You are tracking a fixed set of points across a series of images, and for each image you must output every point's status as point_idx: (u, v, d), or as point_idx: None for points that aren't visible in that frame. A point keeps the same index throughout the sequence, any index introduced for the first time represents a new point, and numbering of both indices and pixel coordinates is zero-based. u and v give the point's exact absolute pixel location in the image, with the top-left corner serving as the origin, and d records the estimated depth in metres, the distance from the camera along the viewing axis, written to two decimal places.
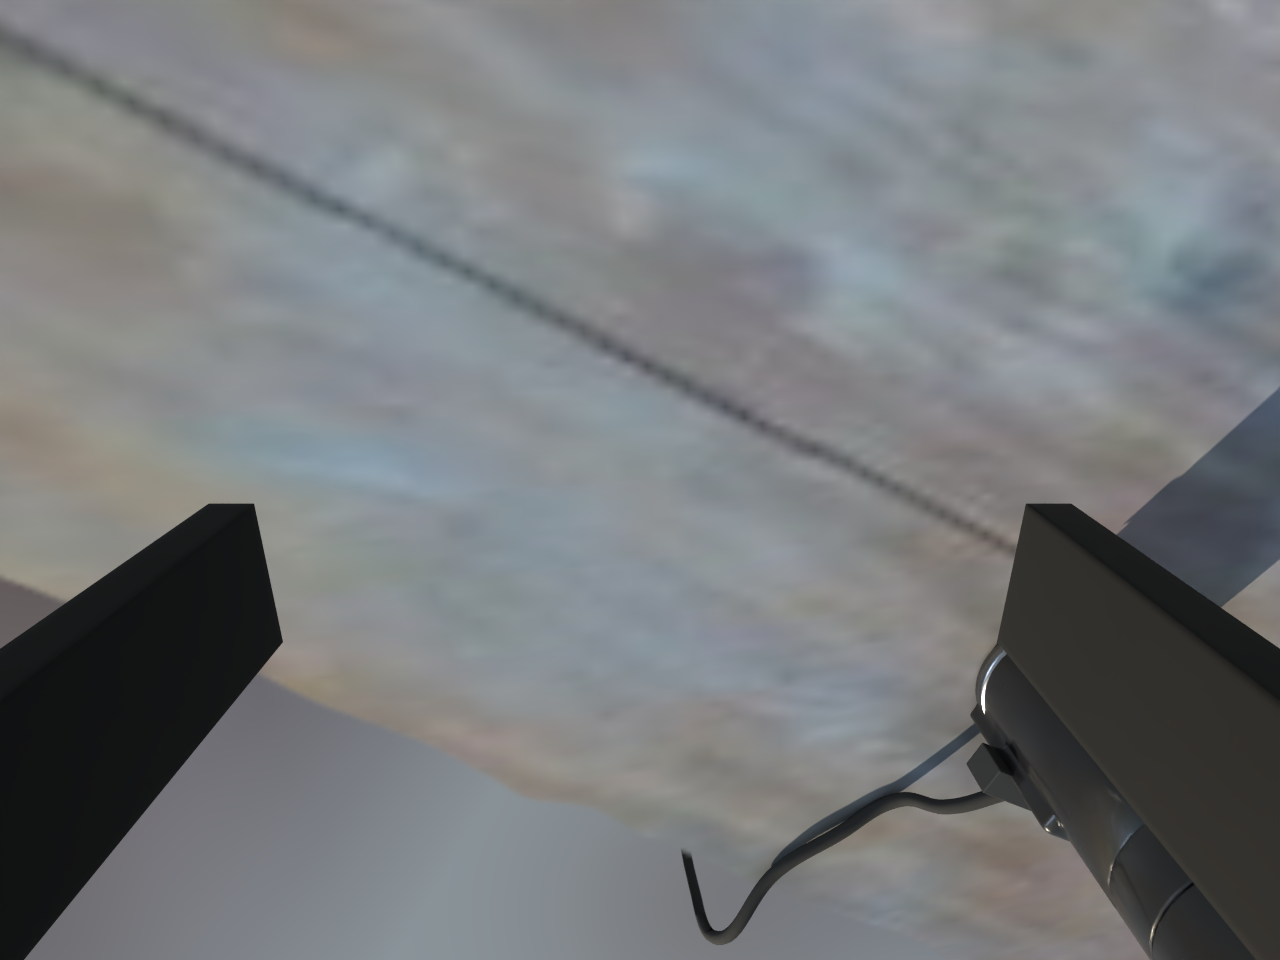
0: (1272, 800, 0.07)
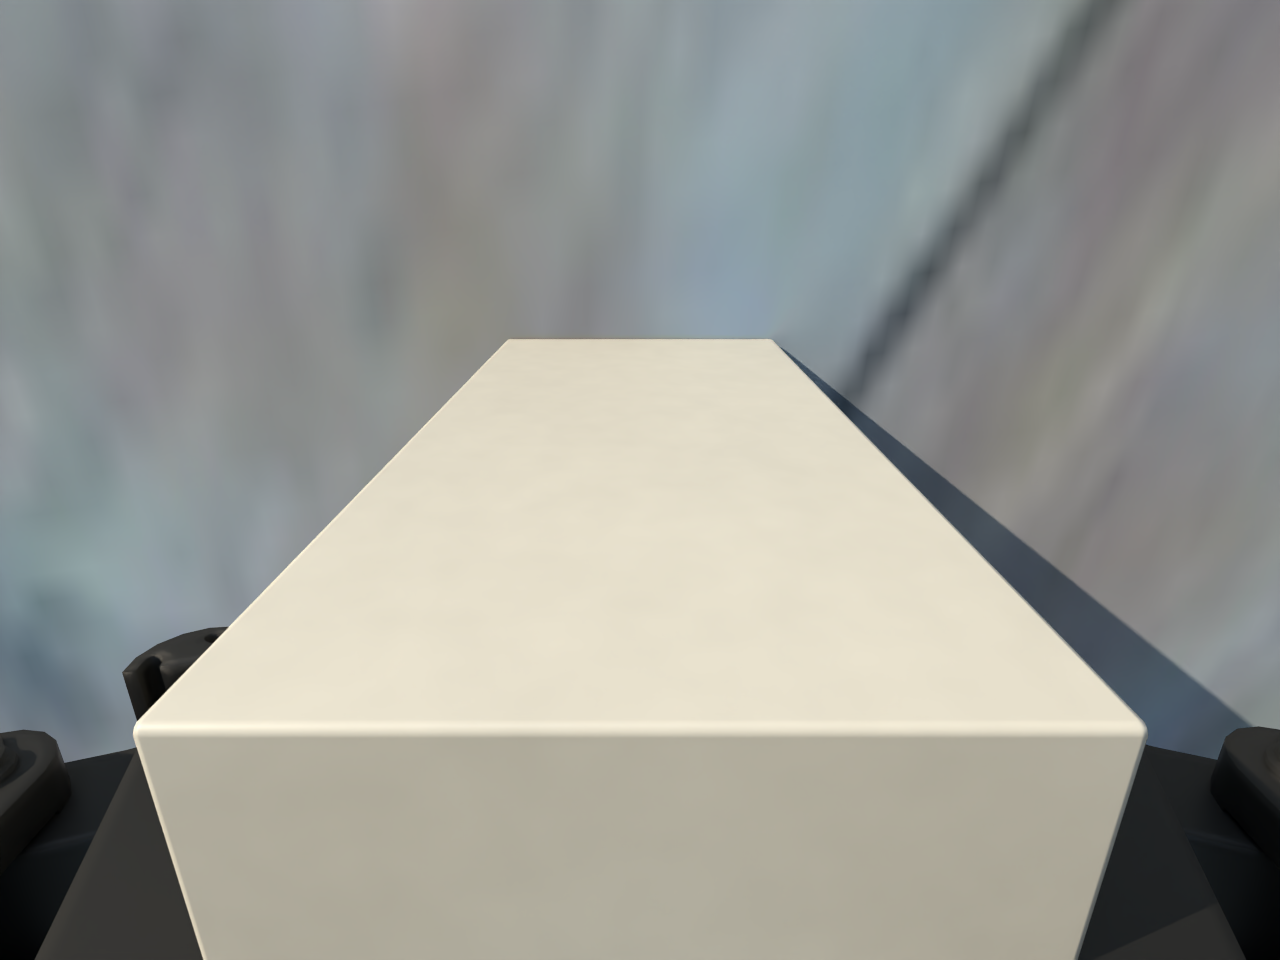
0: None
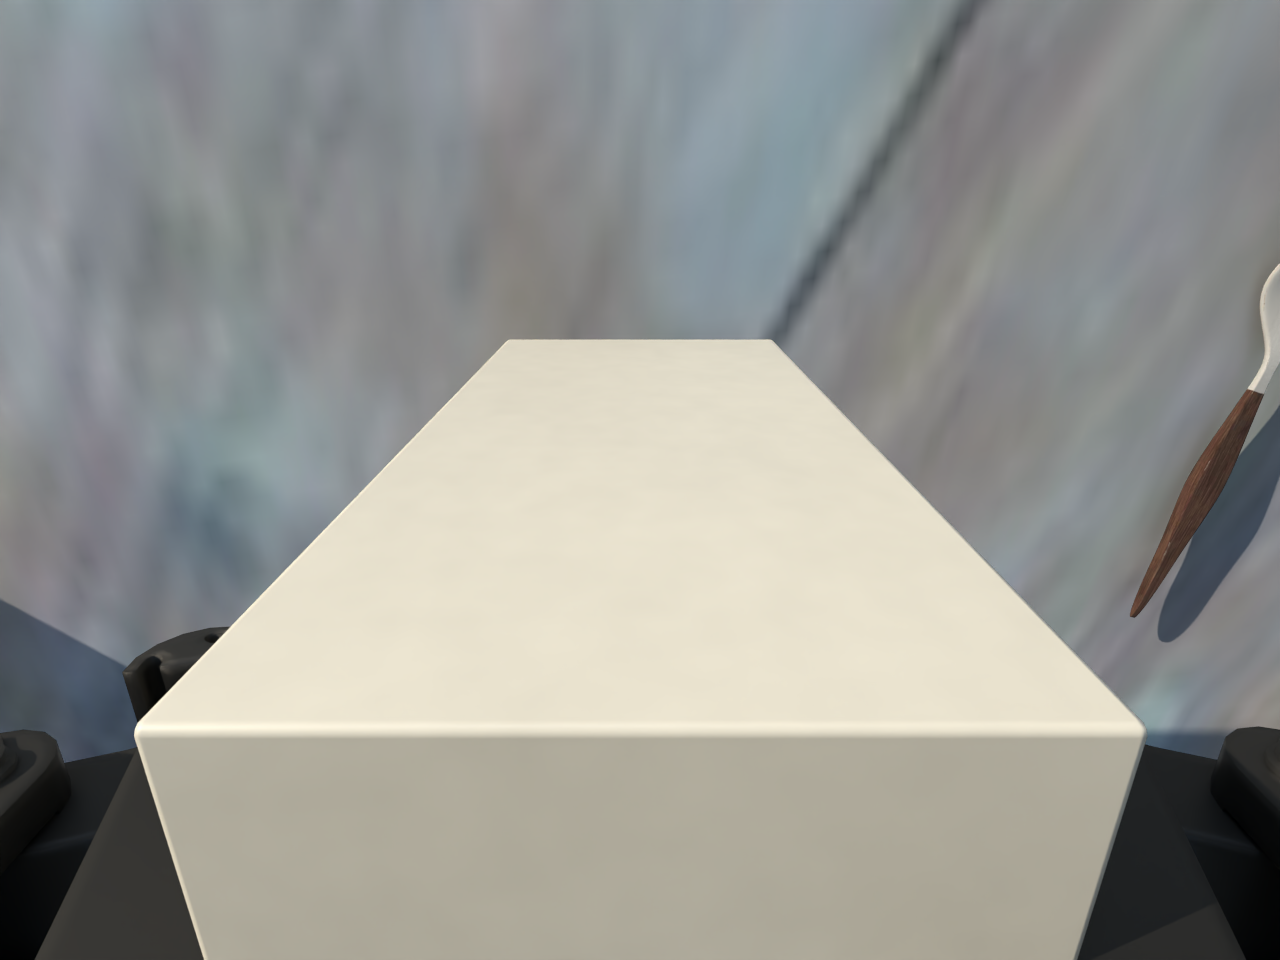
0: None
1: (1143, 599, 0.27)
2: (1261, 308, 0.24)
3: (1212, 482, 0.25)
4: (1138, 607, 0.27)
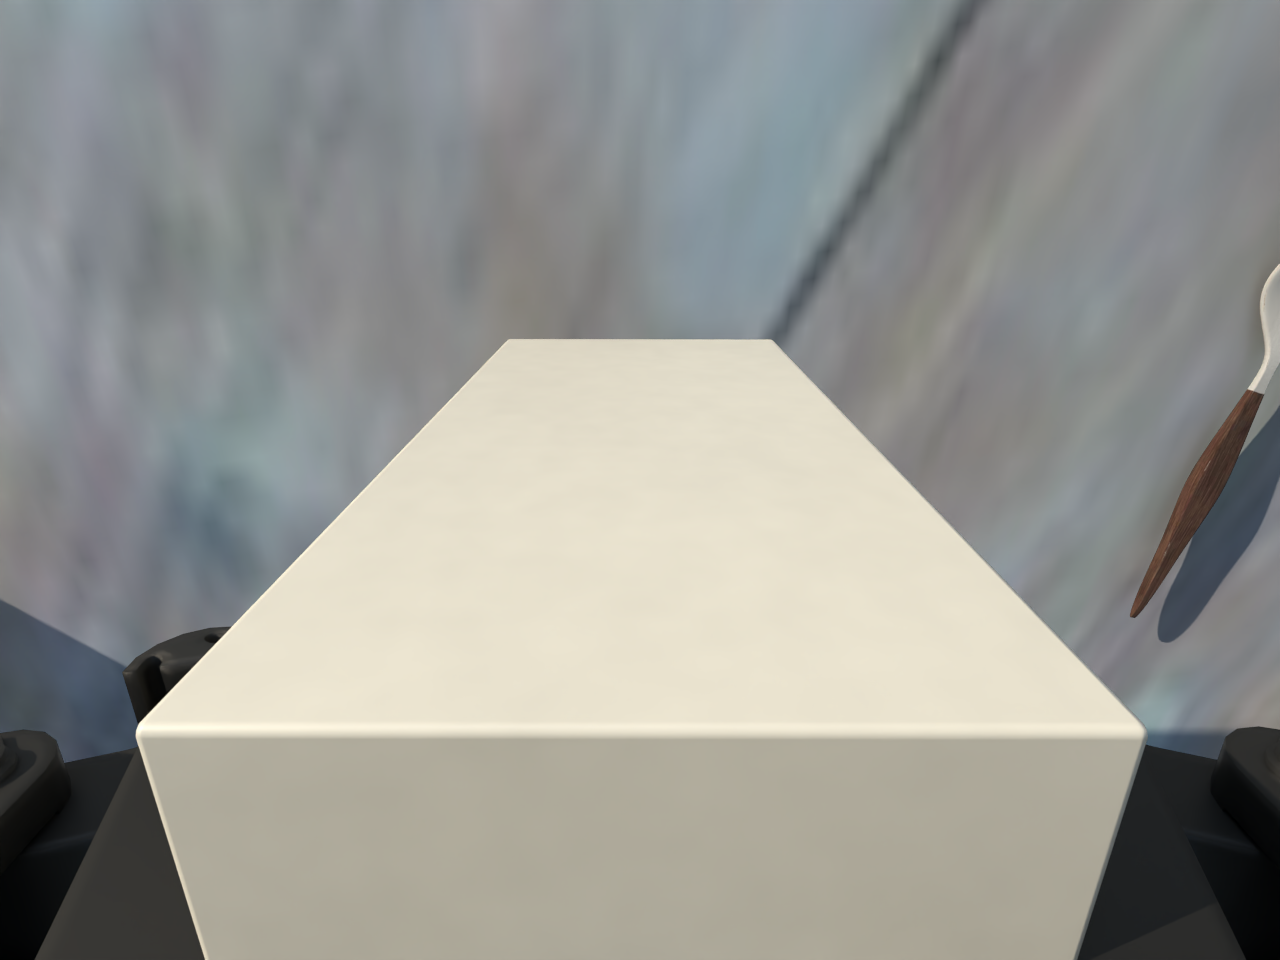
0: None
1: (1143, 599, 0.27)
2: (1261, 308, 0.24)
3: (1213, 483, 0.25)
4: (1138, 607, 0.27)
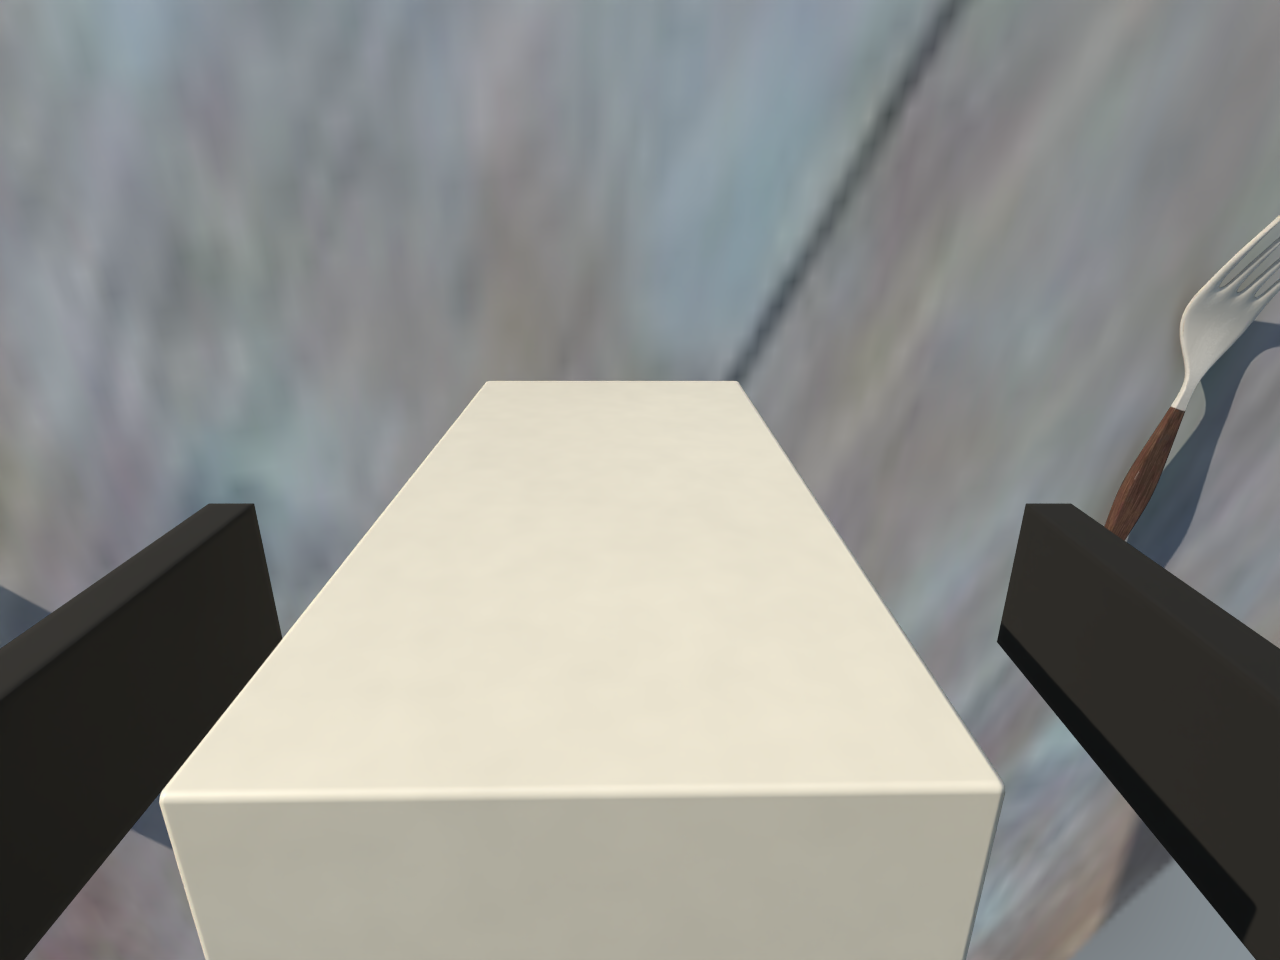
0: (1272, 800, 0.07)
1: None
2: (1181, 334, 0.27)
3: (1142, 490, 0.28)
4: None
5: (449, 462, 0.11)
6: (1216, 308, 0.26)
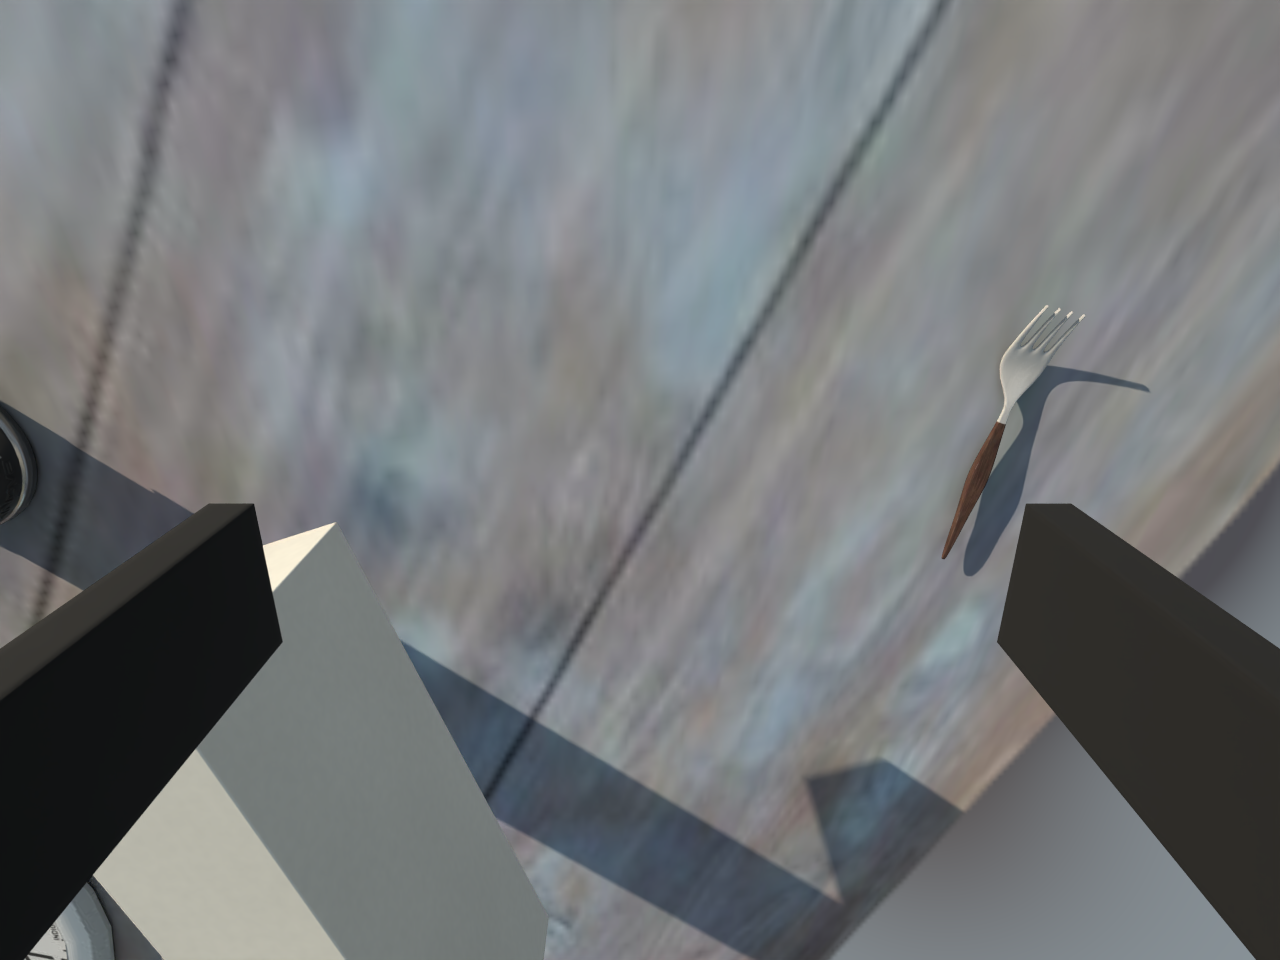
0: (1272, 799, 0.07)
1: (948, 547, 0.45)
2: (1000, 375, 0.41)
3: (981, 476, 0.43)
4: (945, 552, 0.45)
5: None
6: (1021, 358, 0.41)
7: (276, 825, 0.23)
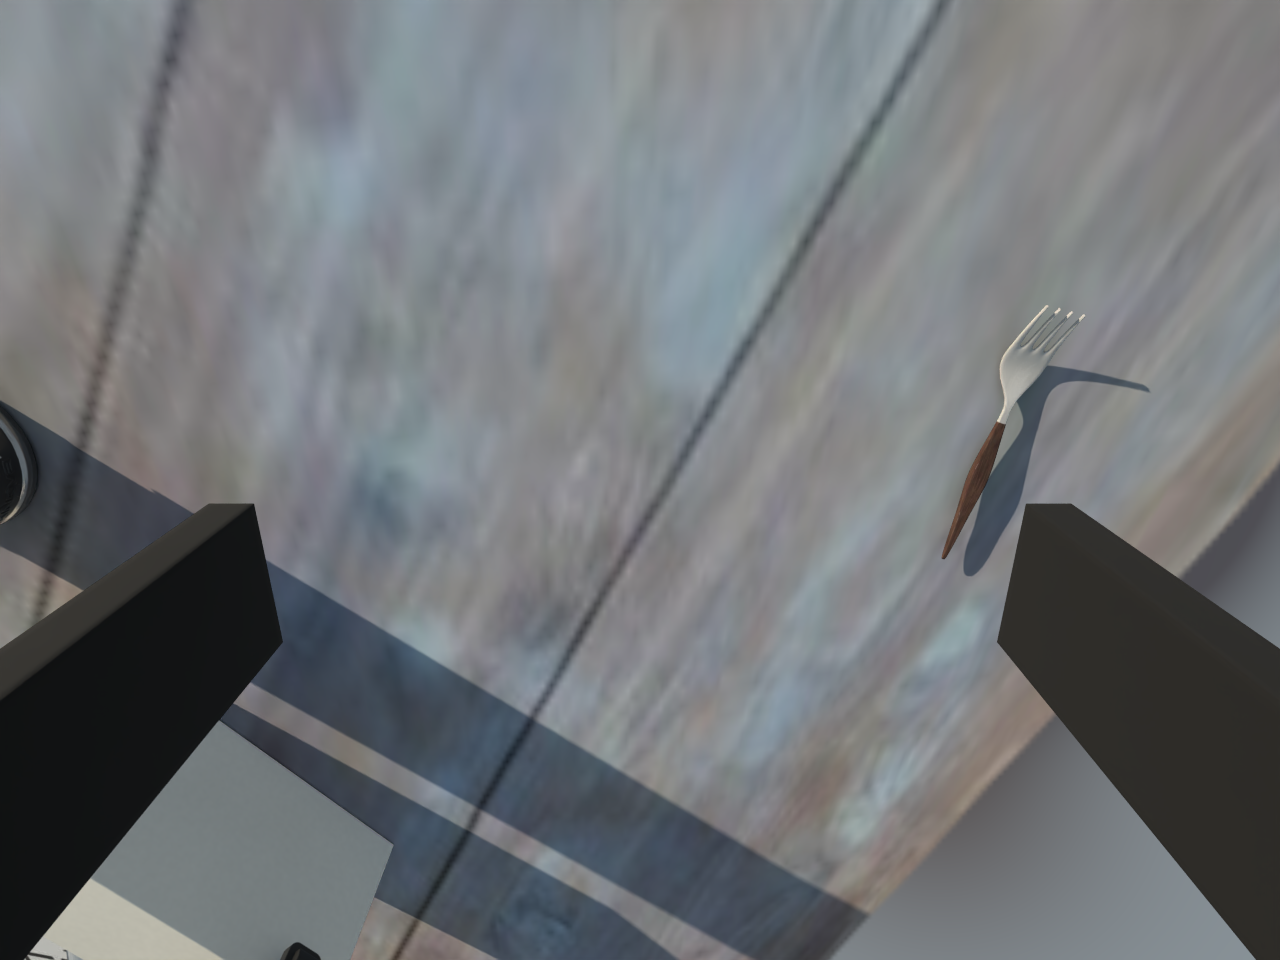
0: (1272, 800, 0.07)
1: (948, 547, 0.45)
2: (1000, 375, 0.41)
3: (981, 476, 0.43)
4: (945, 552, 0.45)
5: None
6: (1021, 358, 0.41)
7: None
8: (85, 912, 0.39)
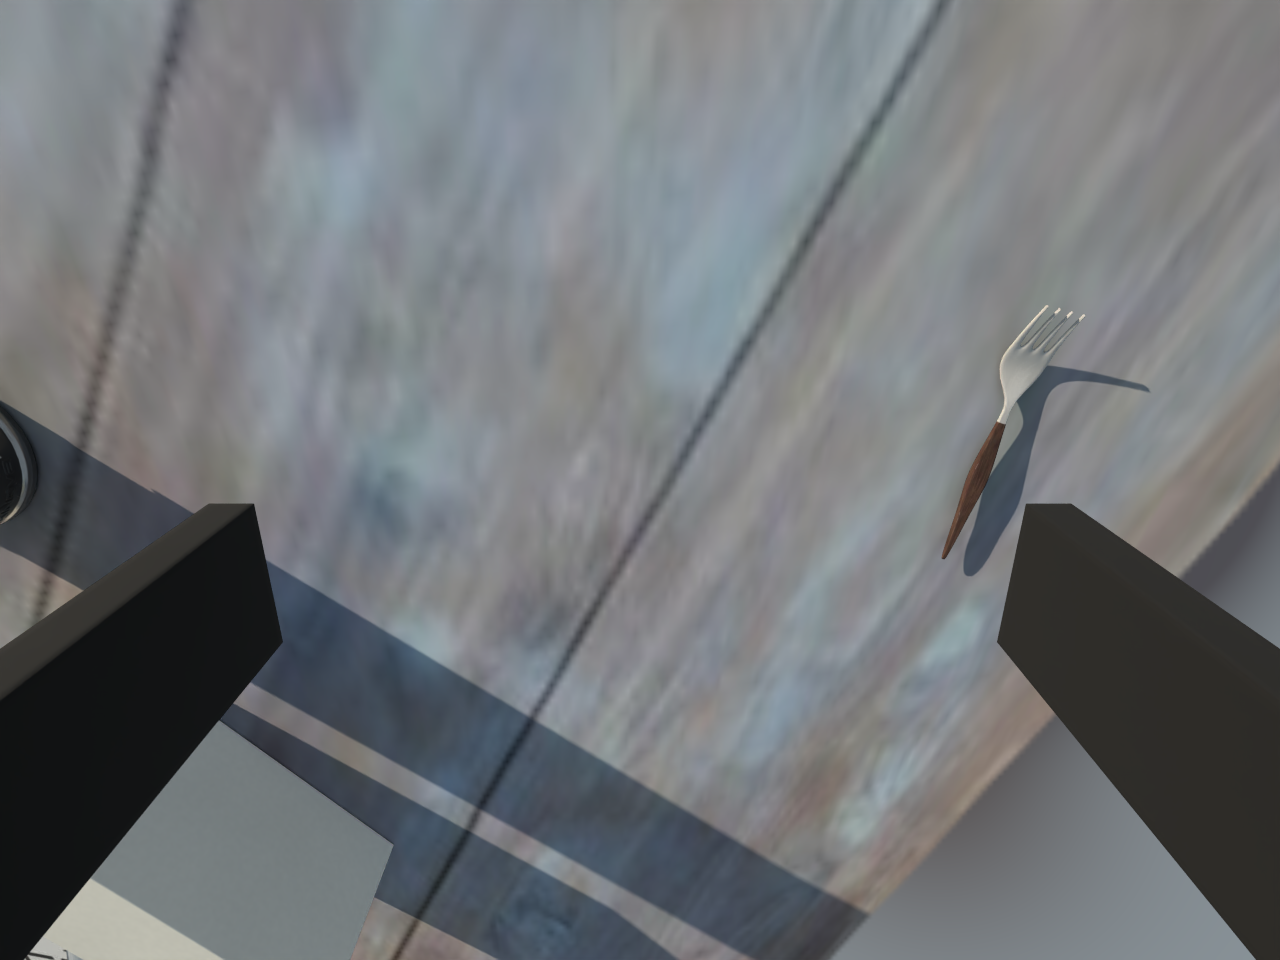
0: (1272, 800, 0.07)
1: (948, 547, 0.45)
2: (1000, 375, 0.41)
3: (981, 476, 0.43)
4: (945, 552, 0.45)
5: None
6: (1021, 358, 0.41)
7: None
8: (85, 912, 0.39)
